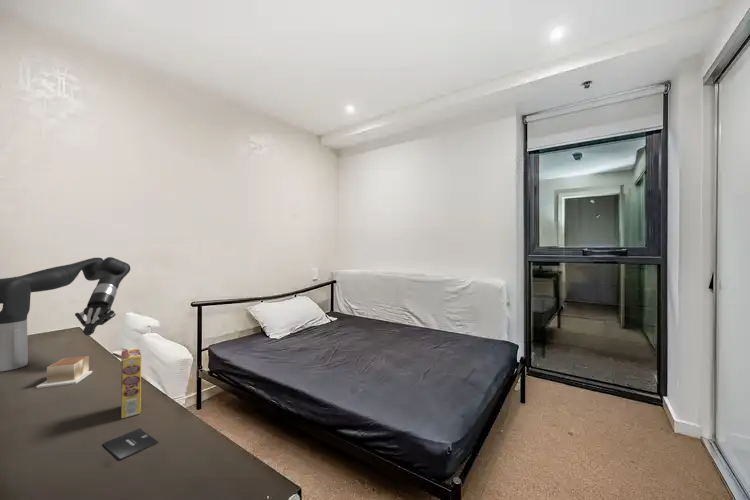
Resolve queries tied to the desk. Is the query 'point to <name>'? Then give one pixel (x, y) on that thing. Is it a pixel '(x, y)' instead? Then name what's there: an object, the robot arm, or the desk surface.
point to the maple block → (67, 369)
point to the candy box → (130, 383)
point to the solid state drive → (129, 444)
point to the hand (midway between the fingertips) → (87, 334)
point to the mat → (64, 381)
